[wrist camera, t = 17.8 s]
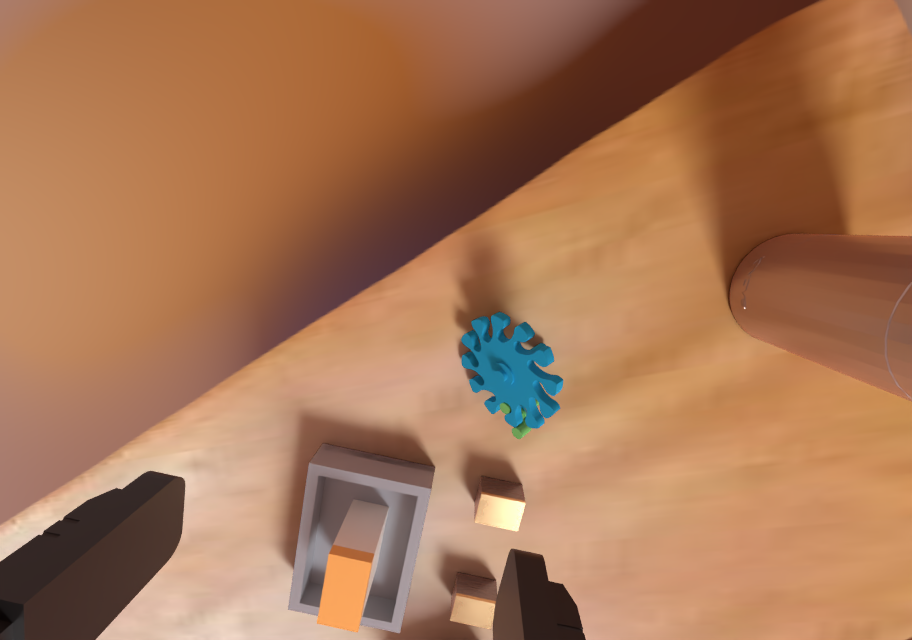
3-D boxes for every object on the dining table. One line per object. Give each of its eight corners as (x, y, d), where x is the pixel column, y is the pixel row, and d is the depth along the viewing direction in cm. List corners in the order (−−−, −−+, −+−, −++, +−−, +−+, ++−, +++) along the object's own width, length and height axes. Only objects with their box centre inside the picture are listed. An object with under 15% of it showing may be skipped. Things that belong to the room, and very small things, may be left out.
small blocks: (522, 484, 41) (525, 503, 38) (489, 604, 44) (490, 629, 41) (481, 475, 41) (481, 493, 38) (451, 596, 44) (450, 620, 41)
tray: (435, 467, 41) (431, 489, 38) (405, 602, 44) (399, 633, 41) (322, 443, 41) (308, 462, 38) (302, 580, 44) (287, 609, 41)
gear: (447, 310, 36) (545, 329, 29) (493, 289, 40) (591, 301, 32) (466, 421, 40) (558, 463, 32) (507, 393, 43) (598, 424, 36)
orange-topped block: (389, 506, 41) (371, 563, 34) (376, 567, 43) (357, 632, 36) (353, 499, 41) (328, 553, 34) (342, 559, 43) (316, 623, 36)
